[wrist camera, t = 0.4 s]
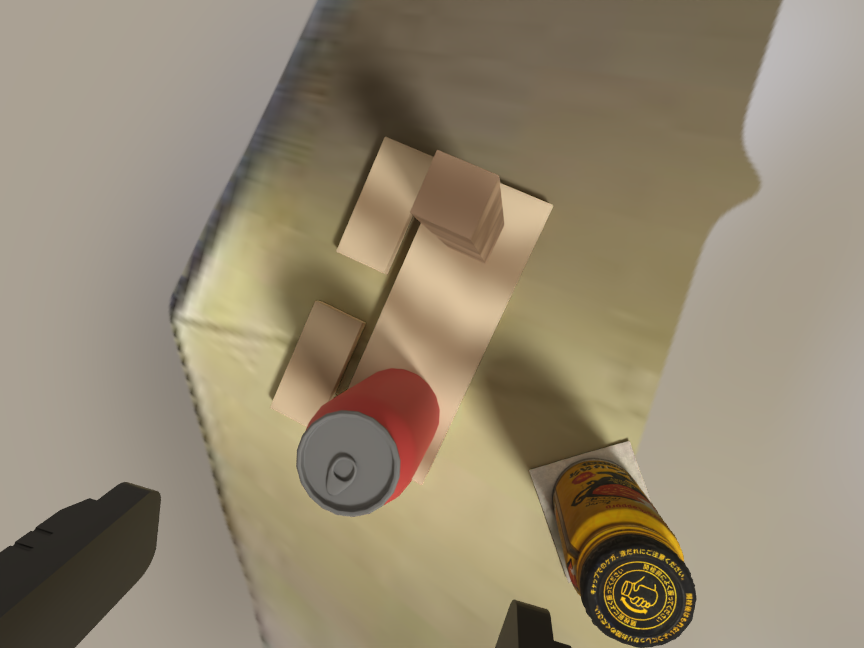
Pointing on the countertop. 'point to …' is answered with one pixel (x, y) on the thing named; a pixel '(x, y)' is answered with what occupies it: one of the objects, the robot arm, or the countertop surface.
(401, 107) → the countertop surface
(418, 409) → the beer can
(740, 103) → the countertop surface
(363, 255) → the broken strip
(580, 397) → the countertop surface
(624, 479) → the condiment
